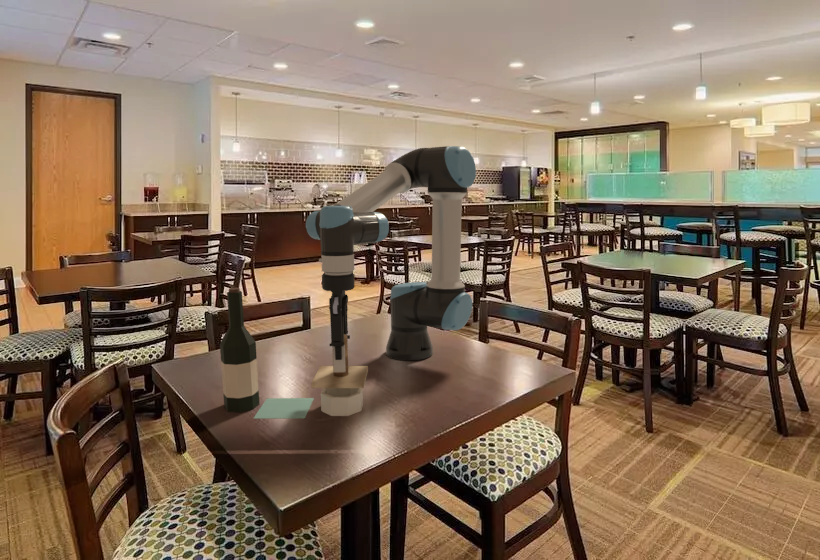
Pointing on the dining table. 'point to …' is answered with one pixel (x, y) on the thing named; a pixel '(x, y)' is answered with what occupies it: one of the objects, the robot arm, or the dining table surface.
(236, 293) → the wine bottle
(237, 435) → the dining table surface
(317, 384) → the beech lid
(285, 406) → the mat
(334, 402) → the bowl
